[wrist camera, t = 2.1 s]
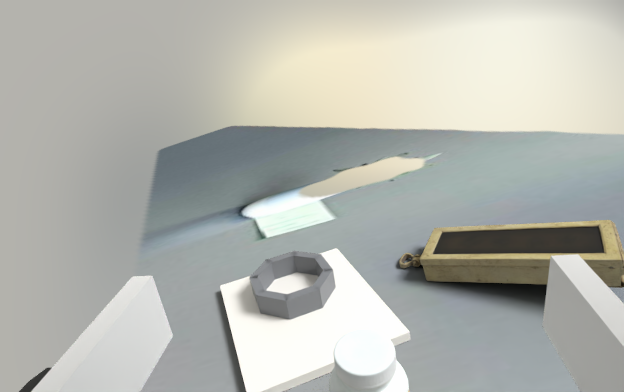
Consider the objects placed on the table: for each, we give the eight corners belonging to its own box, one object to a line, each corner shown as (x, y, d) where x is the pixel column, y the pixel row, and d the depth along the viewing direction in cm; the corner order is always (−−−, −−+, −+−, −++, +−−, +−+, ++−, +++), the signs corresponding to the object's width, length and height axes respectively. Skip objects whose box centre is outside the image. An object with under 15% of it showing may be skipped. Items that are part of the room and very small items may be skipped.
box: (632, 305, 37) (629, 258, 35) (397, 296, 48) (388, 261, 47) (617, 258, 43) (614, 217, 42) (414, 260, 55) (406, 228, 54)
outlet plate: (410, 339, 39) (408, 311, 37) (250, 405, 35) (241, 375, 33) (337, 254, 55) (334, 232, 53) (221, 292, 50) (215, 269, 49)
